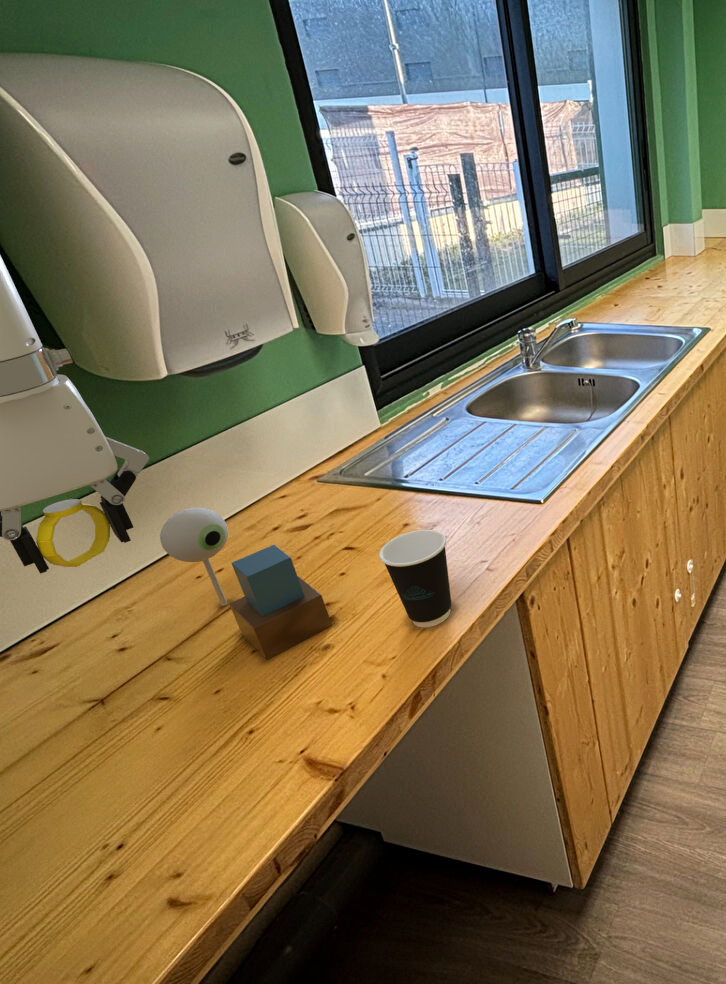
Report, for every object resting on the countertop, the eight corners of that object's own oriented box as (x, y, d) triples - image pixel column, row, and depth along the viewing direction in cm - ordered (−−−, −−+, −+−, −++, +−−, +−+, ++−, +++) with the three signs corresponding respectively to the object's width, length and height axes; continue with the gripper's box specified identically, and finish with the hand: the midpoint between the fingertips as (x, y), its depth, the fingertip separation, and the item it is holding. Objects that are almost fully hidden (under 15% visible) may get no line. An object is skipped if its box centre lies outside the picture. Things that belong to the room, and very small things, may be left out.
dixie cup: (447, 589, 98) (430, 522, 93) (473, 614, 93) (456, 544, 88) (390, 616, 93) (369, 547, 88) (414, 644, 88) (393, 572, 83)
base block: (266, 660, 86) (253, 628, 84) (241, 634, 91) (228, 603, 89) (332, 625, 92) (321, 594, 90) (305, 602, 96) (294, 572, 94)
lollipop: (219, 625, 93) (177, 529, 86) (181, 615, 95) (137, 521, 88) (266, 593, 99) (230, 501, 92) (229, 584, 101) (191, 494, 94)
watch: (72, 577, 65) (43, 523, 63) (45, 577, 66) (15, 523, 63) (125, 541, 71) (101, 490, 68) (100, 541, 71) (74, 490, 68)
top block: (262, 616, 86) (246, 577, 83) (247, 601, 89) (230, 562, 86) (304, 596, 89) (290, 557, 87) (288, 582, 92) (274, 544, 90)
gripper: (107, 344, 68) (175, 504, 76) (-156, 397, 56) (-44, 580, 64) (128, 358, 64) (198, 526, 72) (-152, 419, 52) (-33, 612, 60)
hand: (83, 550), depth 68 cm, fingers closed on watch, 5 cm apart
